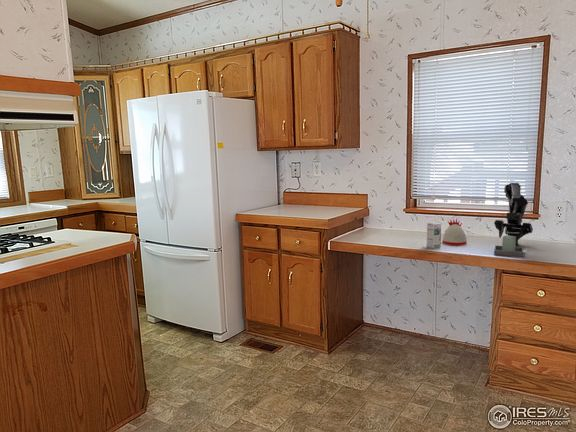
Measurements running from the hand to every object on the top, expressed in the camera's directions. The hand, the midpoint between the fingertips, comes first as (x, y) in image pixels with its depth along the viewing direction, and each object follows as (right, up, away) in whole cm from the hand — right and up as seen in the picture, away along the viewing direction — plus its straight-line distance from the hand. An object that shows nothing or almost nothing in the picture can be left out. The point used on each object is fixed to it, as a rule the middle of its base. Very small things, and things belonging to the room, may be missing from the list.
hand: (508, 238), depth 244 cm
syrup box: (-34, -6, +22) cm, 41 cm away
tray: (+1, -8, +2) cm, 9 cm away
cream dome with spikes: (-18, -5, +31) cm, 36 cm away
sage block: (+1, -8, +2) cm, 8 cm away
